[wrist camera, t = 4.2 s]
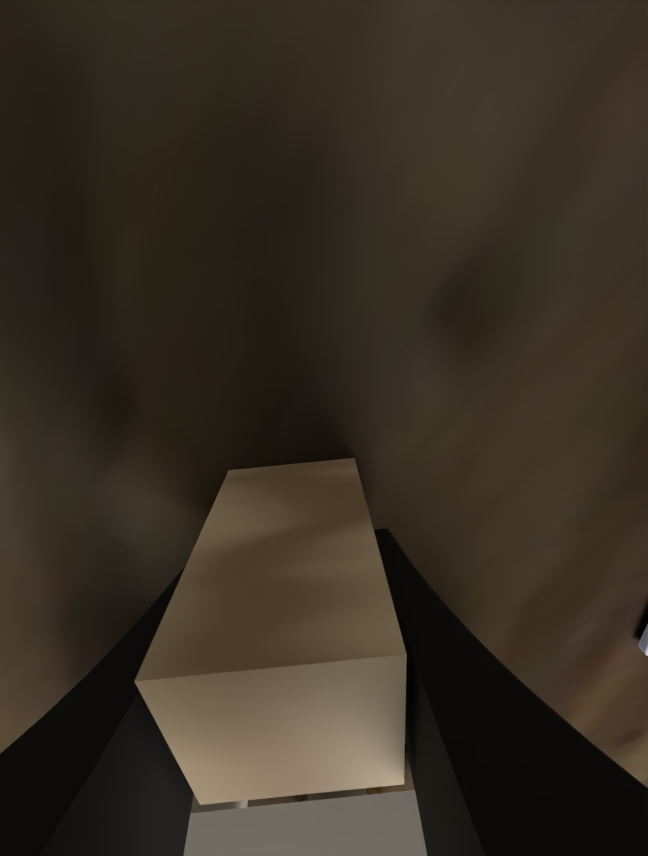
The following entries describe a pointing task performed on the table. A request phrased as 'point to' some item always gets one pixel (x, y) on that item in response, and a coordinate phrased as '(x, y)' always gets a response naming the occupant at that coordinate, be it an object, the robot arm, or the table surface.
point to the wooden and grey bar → (282, 644)
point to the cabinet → (309, 827)
